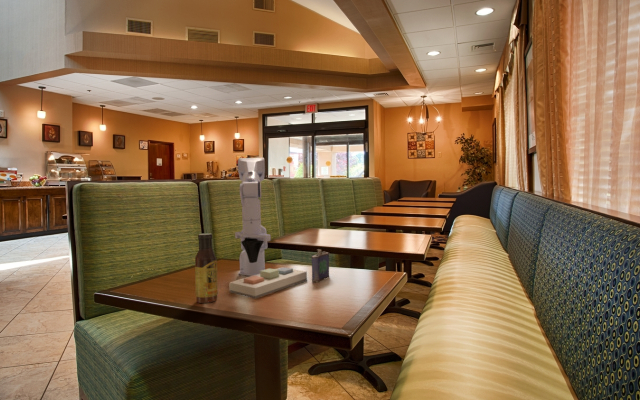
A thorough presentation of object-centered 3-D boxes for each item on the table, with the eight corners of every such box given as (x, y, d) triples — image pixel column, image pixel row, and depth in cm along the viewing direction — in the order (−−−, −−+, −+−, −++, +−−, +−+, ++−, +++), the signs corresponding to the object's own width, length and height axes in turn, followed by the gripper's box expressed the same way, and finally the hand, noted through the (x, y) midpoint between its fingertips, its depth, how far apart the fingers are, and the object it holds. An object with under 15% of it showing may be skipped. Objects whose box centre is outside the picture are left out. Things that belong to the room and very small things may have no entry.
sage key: (260, 279, 122) (260, 271, 122) (269, 276, 126) (269, 268, 125) (269, 281, 119) (269, 272, 119) (279, 278, 123) (278, 269, 123)
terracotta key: (244, 287, 117) (243, 278, 116) (254, 284, 120) (254, 275, 120) (253, 289, 114) (253, 280, 114) (263, 286, 117) (263, 277, 117)
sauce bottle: (211, 304, 105) (208, 235, 104) (191, 303, 107) (188, 235, 106) (222, 297, 112) (219, 232, 111) (203, 296, 113) (200, 232, 112)
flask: (316, 283, 125) (315, 251, 125) (309, 281, 127) (308, 251, 126) (331, 276, 133) (330, 247, 132) (324, 276, 134) (323, 246, 134)
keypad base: (229, 292, 117) (229, 282, 117) (281, 276, 136) (281, 267, 136) (255, 298, 109) (254, 288, 109) (306, 280, 128) (306, 271, 128)
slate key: (275, 277, 128) (275, 269, 128) (284, 275, 131) (283, 267, 131) (284, 279, 125) (284, 271, 125) (293, 276, 128) (293, 268, 128)
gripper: (226, 219, 117) (228, 262, 118) (258, 221, 108) (259, 267, 109) (243, 217, 123) (245, 258, 124) (274, 219, 114) (276, 262, 115)
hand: (253, 262), depth 117 cm, fingers closed
